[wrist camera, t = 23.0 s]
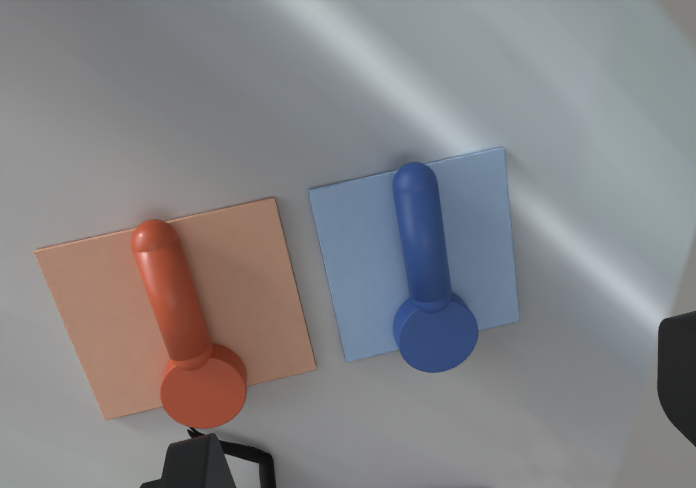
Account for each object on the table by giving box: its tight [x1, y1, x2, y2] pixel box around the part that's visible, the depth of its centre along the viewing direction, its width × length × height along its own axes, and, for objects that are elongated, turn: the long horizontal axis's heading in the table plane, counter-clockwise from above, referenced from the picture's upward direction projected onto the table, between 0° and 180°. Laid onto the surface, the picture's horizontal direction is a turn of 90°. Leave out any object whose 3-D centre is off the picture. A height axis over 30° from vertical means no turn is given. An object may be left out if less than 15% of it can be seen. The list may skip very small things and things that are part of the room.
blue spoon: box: [392, 162, 478, 373], centre depth 35 cm, size 14×5×3 cm, turn 10°
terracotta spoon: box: [131, 219, 247, 429], centre depth 35 cm, size 14×5×3 cm, turn 10°
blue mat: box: [308, 147, 519, 362], centre depth 37 cm, size 12×12×1 cm
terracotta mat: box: [34, 197, 317, 420], centre depth 36 cm, size 12×14×1 cm
